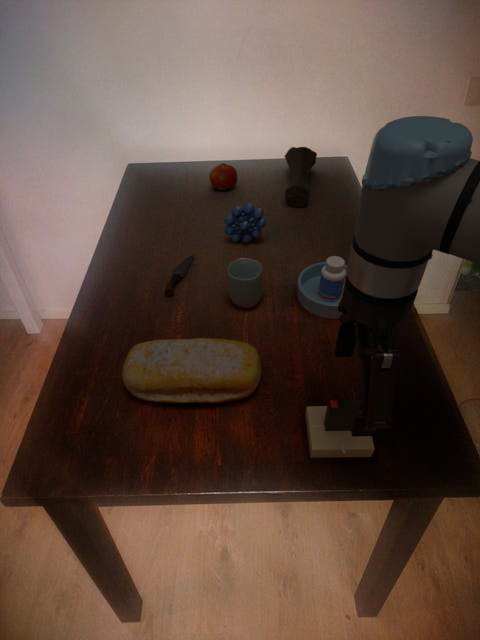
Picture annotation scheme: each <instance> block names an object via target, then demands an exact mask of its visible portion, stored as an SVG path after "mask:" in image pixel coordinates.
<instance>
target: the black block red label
mask: <svg viewBox="0 0 480 640" xmlns="http://www.w3.org/2000/svg"><path fill="white" fill-rule="evenodd" d="M326 406H327V410H326V414H325V419H324V428H325V431H351V430H352V427H353V424H354V421H355V417H356V411H358V408H359V406H362V399H329V400H328V401H327V405H326Z"/></svg>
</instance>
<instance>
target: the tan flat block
mask: <svg viewBox="0 0 480 640" xmlns="http://www.w3.org/2000/svg"><path fill="white" fill-rule="evenodd" d="M327 406H328V405H314V406H313V405H310V406H306V408H305V415H304V416H305V424H306V432H307V440H308V448H309V455H310V456H309V457H310V459H315V458H318V459H320V458H321V459H322V458H326V459H327V458H372V456H373V454H374V452H375V444H374V440H373V436H360V437H352V433H351V431H325V428H324V419H325V414H326V410H327Z"/></svg>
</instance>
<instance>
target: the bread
mask: <svg viewBox="0 0 480 640" xmlns="http://www.w3.org/2000/svg"><path fill="white" fill-rule="evenodd" d="M261 373H262V364H261V359H260V357H259V353H258V351H257V349H256V347H254V346H253V344H250V343H249V342H244V341H239V340H234V339H225V338H207V337H198V338H195V337H194V338H178V339H154V340H149V341H143V342H139V343H137V344H135V345H134V346H132V347H131V348H130V350H129V351H128V352H127V355H126V358H125V360H124V361H123V365H122V371H121V378H122V381H123V384H124V386H125V387H126V390H127V391H128V392H129V394H131V395H132V396H133V397H135V398H137V399H139V400H141V401H145V402H153V403H166V404H183V405H185V404H219V403H226V402H234V401H239V400H243V399H246V398H247V397H249V396H251V395H252V394H253V393H254V392H255V390H257V388H258V386H259V384H260V379H261Z"/></svg>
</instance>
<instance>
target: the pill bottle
mask: <svg viewBox="0 0 480 640" xmlns="http://www.w3.org/2000/svg"><path fill="white" fill-rule="evenodd" d="M325 262H326V265H325V266H324V267H323V268H322V271H321V278H320V285H319V292H318V293H319V296H320V297H321V298H322V299H323V300H325V301H329V302H333V301H337V300H338V299H340V297H341V295H342V290H343V285H344V280H345V276H346V271H345V269H344V265H346V263H345V259H344V258H343V257H341V256H339V255H332V256H329V257H327V258H326V260H325Z"/></svg>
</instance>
